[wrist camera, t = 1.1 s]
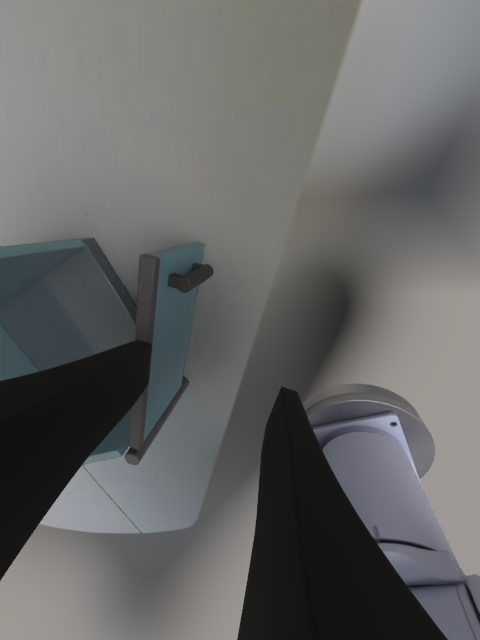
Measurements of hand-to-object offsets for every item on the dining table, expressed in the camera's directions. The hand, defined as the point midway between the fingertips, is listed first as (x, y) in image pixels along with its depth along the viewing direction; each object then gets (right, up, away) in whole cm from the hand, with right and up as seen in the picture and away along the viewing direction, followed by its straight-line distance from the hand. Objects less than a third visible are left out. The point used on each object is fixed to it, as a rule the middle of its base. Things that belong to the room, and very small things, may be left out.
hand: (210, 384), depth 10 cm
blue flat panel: (-2, +2, +8) cm, 9 cm away
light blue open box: (-13, 0, +13) cm, 19 cm away
